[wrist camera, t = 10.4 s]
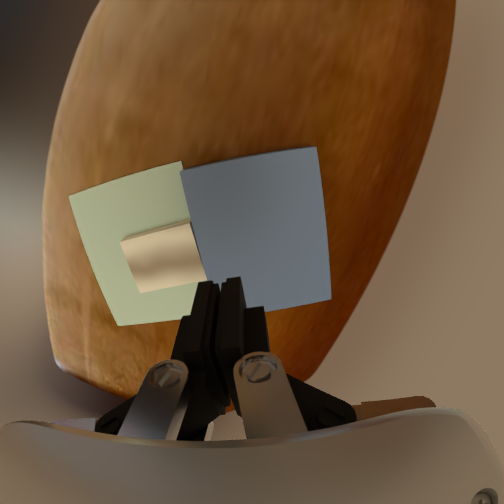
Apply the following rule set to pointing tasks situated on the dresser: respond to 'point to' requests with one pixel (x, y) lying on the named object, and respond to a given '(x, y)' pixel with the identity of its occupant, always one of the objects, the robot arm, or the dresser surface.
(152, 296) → the mat
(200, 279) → the birch block
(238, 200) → the slate blue tile
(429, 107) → the dresser surface
